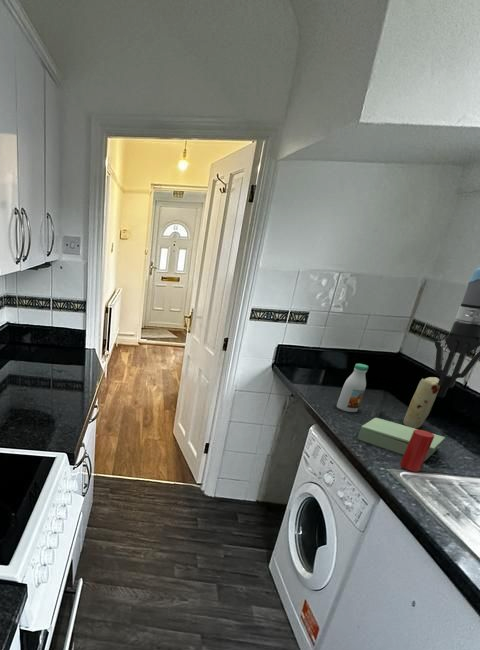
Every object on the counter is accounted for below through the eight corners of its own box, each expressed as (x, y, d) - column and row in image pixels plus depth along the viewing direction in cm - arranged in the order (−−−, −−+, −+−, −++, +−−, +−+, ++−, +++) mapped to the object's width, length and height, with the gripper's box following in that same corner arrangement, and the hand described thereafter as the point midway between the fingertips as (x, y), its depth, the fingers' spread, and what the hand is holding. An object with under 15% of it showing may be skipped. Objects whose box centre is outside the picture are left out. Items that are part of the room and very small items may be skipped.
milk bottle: (336, 412, 170) (352, 366, 162) (334, 405, 177) (349, 360, 168) (357, 416, 168) (375, 369, 159) (354, 409, 174) (371, 364, 166)
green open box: (434, 452, 140) (440, 439, 138) (423, 464, 132) (428, 450, 130) (370, 431, 154) (374, 419, 152) (356, 440, 146) (360, 428, 144)
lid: (444, 439, 137) (445, 437, 137) (433, 450, 129) (434, 448, 129) (374, 419, 152) (375, 417, 152) (360, 428, 144) (361, 426, 143)
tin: (422, 468, 130) (436, 434, 125) (417, 473, 126) (432, 438, 122) (402, 461, 133) (416, 428, 128) (397, 466, 130) (411, 432, 125)
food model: (421, 433, 155) (444, 383, 147) (400, 427, 159) (421, 378, 150) (422, 424, 163) (444, 377, 154) (402, 419, 166) (422, 372, 157)
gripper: (440, 319, 126) (413, 392, 135) (497, 327, 117) (464, 404, 126) (446, 317, 131) (420, 388, 140) (501, 325, 122) (469, 399, 131)
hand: (441, 396), depth 133 cm, fingers closed
